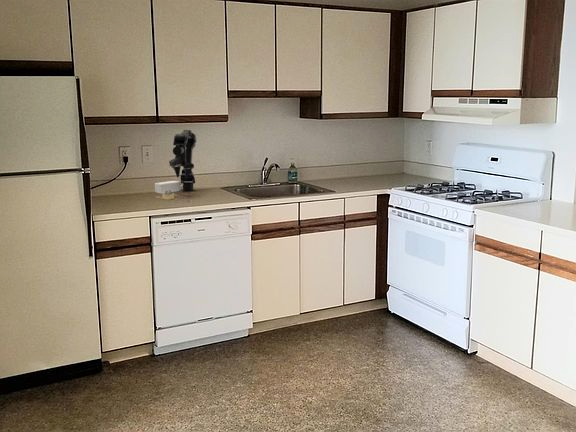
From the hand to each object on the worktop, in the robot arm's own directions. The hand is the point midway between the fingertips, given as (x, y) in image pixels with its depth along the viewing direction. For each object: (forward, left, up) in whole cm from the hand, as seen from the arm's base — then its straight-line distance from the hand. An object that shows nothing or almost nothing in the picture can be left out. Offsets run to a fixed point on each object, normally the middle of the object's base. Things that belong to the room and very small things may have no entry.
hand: (182, 178), depth 375 cm
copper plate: (+7, +1, -12) cm, 14 cm away
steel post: (+14, +4, -12) cm, 19 cm away
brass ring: (+14, +4, -11) cm, 18 cm away
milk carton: (+7, -18, -8) cm, 21 cm away
